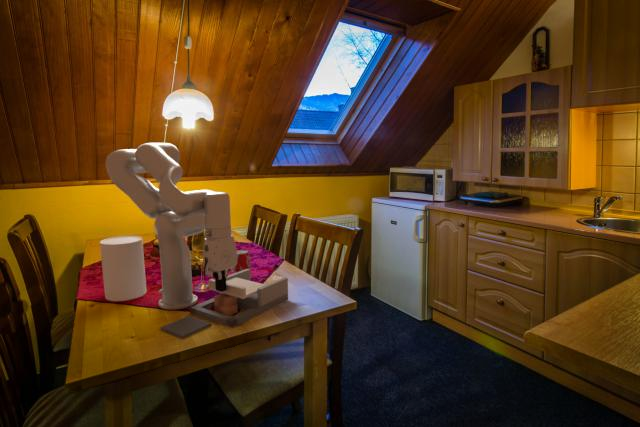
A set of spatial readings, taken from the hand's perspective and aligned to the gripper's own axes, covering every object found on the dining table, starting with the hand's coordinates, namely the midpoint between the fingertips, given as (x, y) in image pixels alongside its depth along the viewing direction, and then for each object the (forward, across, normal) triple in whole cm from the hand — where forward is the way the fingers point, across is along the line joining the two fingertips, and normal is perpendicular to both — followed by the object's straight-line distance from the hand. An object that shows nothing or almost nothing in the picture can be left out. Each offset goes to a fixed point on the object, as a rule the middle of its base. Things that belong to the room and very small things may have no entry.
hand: (221, 290), depth 129 cm
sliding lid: (+2, +8, 0) cm, 8 cm away
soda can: (+8, +26, +18) cm, 33 cm away
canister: (+8, -7, +43) cm, 44 cm away
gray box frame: (+8, +8, 0) cm, 12 cm away
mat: (+8, -12, +2) cm, 15 cm away
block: (+8, +2, 0) cm, 8 cm away
